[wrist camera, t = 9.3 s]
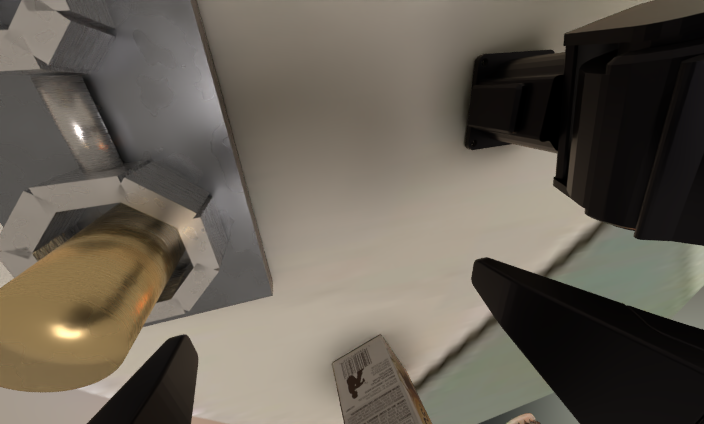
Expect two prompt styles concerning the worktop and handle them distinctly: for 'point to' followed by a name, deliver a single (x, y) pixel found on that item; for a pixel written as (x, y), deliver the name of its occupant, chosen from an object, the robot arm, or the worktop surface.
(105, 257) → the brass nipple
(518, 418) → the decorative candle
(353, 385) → the coffee box
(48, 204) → the manifold
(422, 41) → the worktop surface
